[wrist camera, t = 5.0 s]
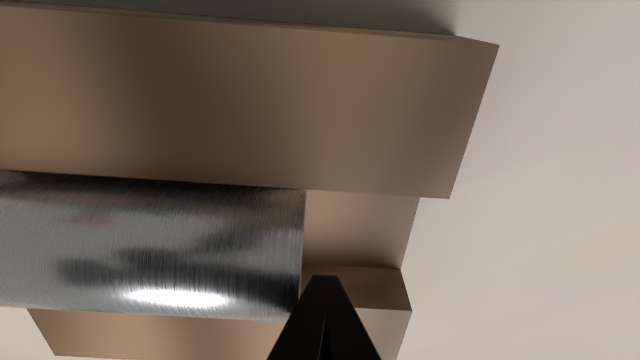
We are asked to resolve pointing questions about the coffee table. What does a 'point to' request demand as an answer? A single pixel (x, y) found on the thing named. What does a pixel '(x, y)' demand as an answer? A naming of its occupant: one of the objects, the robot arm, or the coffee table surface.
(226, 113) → the wooden channel block
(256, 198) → the axle
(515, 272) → the coffee table surface
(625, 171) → the coffee table surface
